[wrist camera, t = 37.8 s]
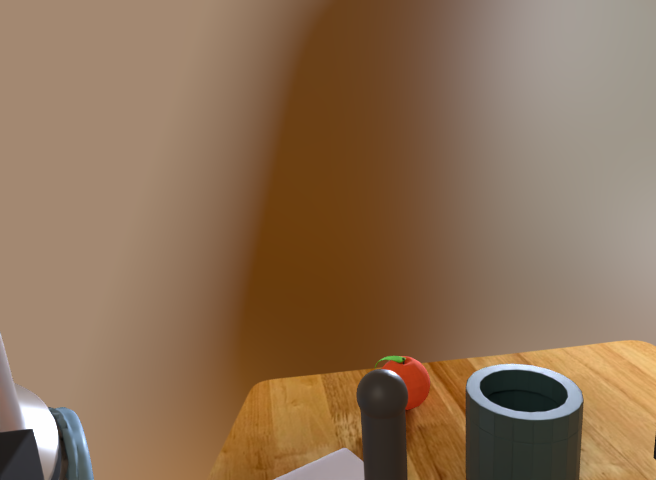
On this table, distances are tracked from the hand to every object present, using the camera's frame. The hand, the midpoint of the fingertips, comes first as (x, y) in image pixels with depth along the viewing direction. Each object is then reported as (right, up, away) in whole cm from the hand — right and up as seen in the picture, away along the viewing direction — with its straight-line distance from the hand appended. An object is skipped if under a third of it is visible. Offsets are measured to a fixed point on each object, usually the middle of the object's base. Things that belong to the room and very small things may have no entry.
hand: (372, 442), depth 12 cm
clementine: (+9, -18, +64) cm, 67 cm away
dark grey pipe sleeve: (+20, -22, +48) cm, 56 cm away
